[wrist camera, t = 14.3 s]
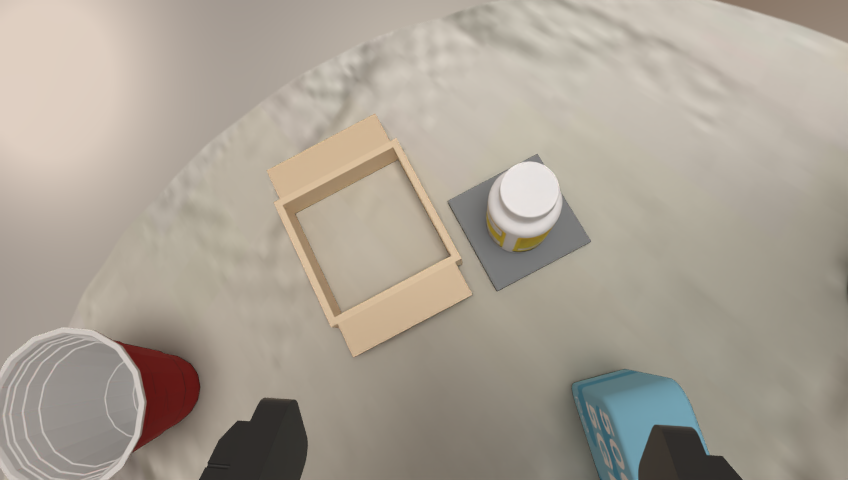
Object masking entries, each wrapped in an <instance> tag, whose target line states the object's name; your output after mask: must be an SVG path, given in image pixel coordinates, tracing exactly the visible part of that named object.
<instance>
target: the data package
mask: <svg viewBox="0 0 848 480" xmlns="http://www.w3.org/2000/svg"><path fill="white" fill-rule="evenodd" d="M572 392H573V397H574V400H575V404H576V407H577V410H578V413H579V416H580V419H581V422H582V425H583V428H584V431H585V434H586V437H587V441H588V444H589V447H590V450H591V453H592V456H593V459H594V462H595V465H596V468H597V471H598V474H599V478H600V480H638V468H639V463H640V460H641V457H642V454H643V451H644V449H645V446H646V443H647V440H648V437H649V435H650V432H651V429H652V427H653V426H654V425H672V426H687V427H693V428H694V429H695V430H696V432H697V433H698V435H699V437H700V440H701V442H702V445H703V447H704V450H705V452H706V455H710V454H709V452H708V449H707V446H706V444H705V441H704V438H703V436H702V433H701V430H700V428H699V425H698V422H697V420H696V417H695V414H694V412H693V409H692V406H691V404H690V402H689V400H688V398H687V396H686V394H685V393H684V391H683V390H682V388H681V387H680V386H679V384H678V383H677V382H675V381H674V380H673V379H671V378H667V377H662V376H657V375H652V374H647V373H642V372H637V371H632V370H627V369H623V370H619V371H616V372H612V373H608V374H605V375H601V376H597V377H594V378H590V379H586V380H583V381H579V382H575V383H573V385H572Z"/></svg>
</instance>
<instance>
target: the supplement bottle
mask: <svg viewBox="0 0 848 480" xmlns="http://www.w3.org/2000/svg"><path fill="white" fill-rule="evenodd" d="M561 209H562V194H561V191H560V188H559V183H558V180H557V178H556V176H555V174H554V173H553V172H552V171H551V170H550V169H549V168H548V167H546V166H545V165H543V164H540V163H537V162H530V161H529V162H522V163H519V164H516V165H514V166H513V167H511V168H510V169H509V170H508V171H506V172H504V173H503V174H501V175H500V176H499V177H498V178H497V179H496V181H495V182H494V183H493V185H492V187H491V190H490V193H489V197H488V206H487V216H486V226H487V231H488V234H489V236H490V237H491V239H492V240H493V242H494V243H495V244H496V245H497V246H499V247H500V248H502V249H503V250H506V251H508V252H513V253H523V252H528V251H530V250H533V249H534V248H536V247H537V246H539V245H540V244H541V243H542V242H543V241H544V239H545V238H546V236H547V235H548V233H549V232H550V230H551V229H552V227H553V226H554V225H555V223H556V221H557V220H558V218H559V215H560V213H561Z"/></svg>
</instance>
